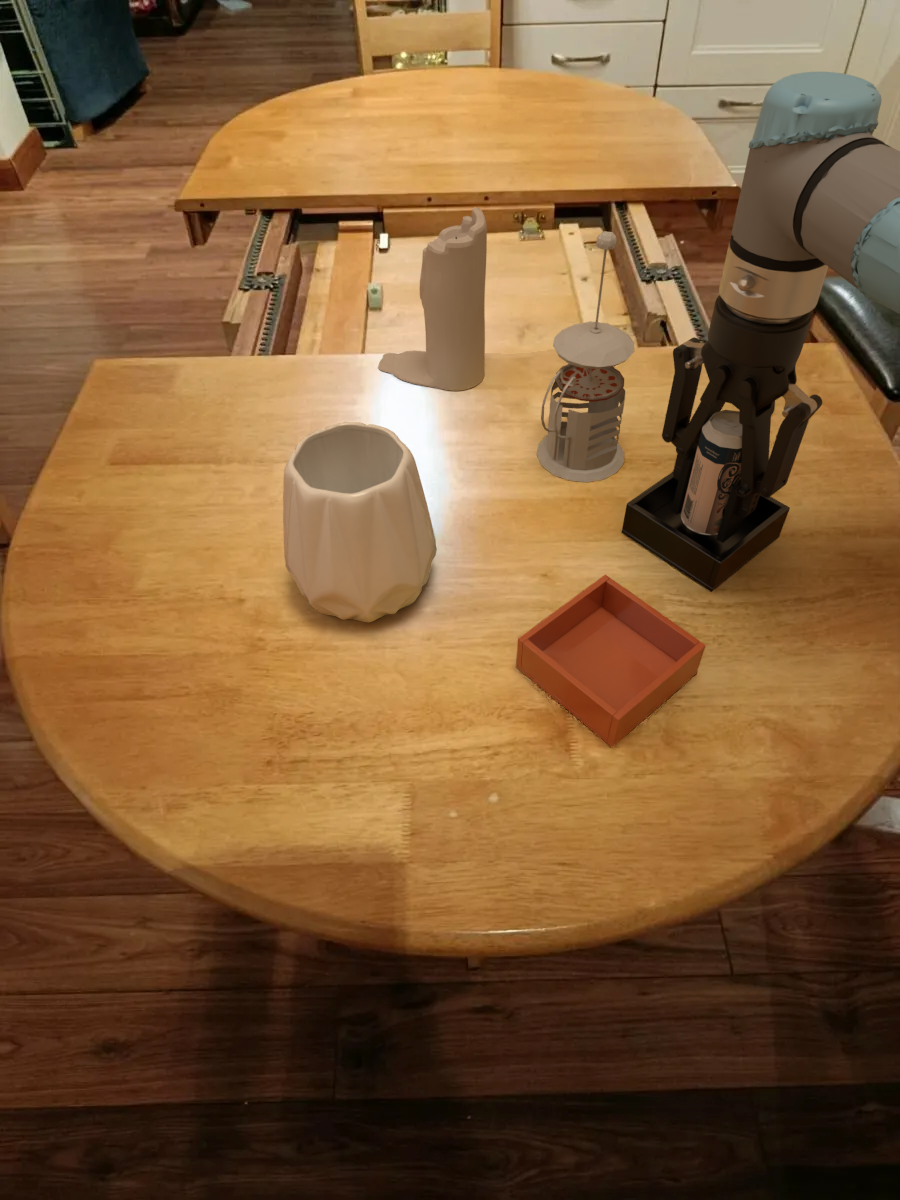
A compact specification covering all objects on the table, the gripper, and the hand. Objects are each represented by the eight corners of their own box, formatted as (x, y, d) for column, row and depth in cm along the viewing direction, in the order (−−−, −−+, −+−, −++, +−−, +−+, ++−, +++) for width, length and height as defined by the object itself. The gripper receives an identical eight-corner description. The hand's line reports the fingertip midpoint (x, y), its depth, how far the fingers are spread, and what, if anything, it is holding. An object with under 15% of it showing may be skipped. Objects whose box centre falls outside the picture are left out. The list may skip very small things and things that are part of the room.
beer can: (719, 545, 82) (749, 445, 73) (672, 528, 84) (696, 428, 75) (735, 516, 85) (766, 416, 76) (690, 500, 87) (715, 401, 78)
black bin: (779, 537, 85) (790, 507, 82) (711, 592, 81) (720, 563, 78) (689, 484, 91) (697, 454, 88) (621, 532, 86) (626, 503, 83)
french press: (642, 451, 95) (684, 230, 76) (578, 502, 89) (607, 277, 71) (572, 416, 100) (596, 199, 81) (508, 463, 94) (517, 241, 75)
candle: (389, 346, 110) (377, 188, 95) (491, 364, 107) (495, 203, 92) (368, 376, 106) (352, 215, 91) (474, 395, 103) (475, 232, 88)
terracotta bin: (696, 673, 74) (706, 645, 71) (612, 747, 69) (618, 720, 66) (600, 603, 80) (605, 574, 77) (515, 667, 75) (517, 638, 72)
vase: (330, 659, 76) (306, 536, 65) (269, 563, 84) (238, 439, 73) (464, 598, 81) (463, 474, 69) (394, 513, 89) (383, 389, 77)
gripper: (646, 278, 70) (611, 494, 87) (841, 365, 61) (759, 587, 78) (702, 249, 73) (658, 462, 90) (895, 327, 64) (805, 548, 81)
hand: (705, 520), depth 84 cm, fingers closed on beer can, 5 cm apart
